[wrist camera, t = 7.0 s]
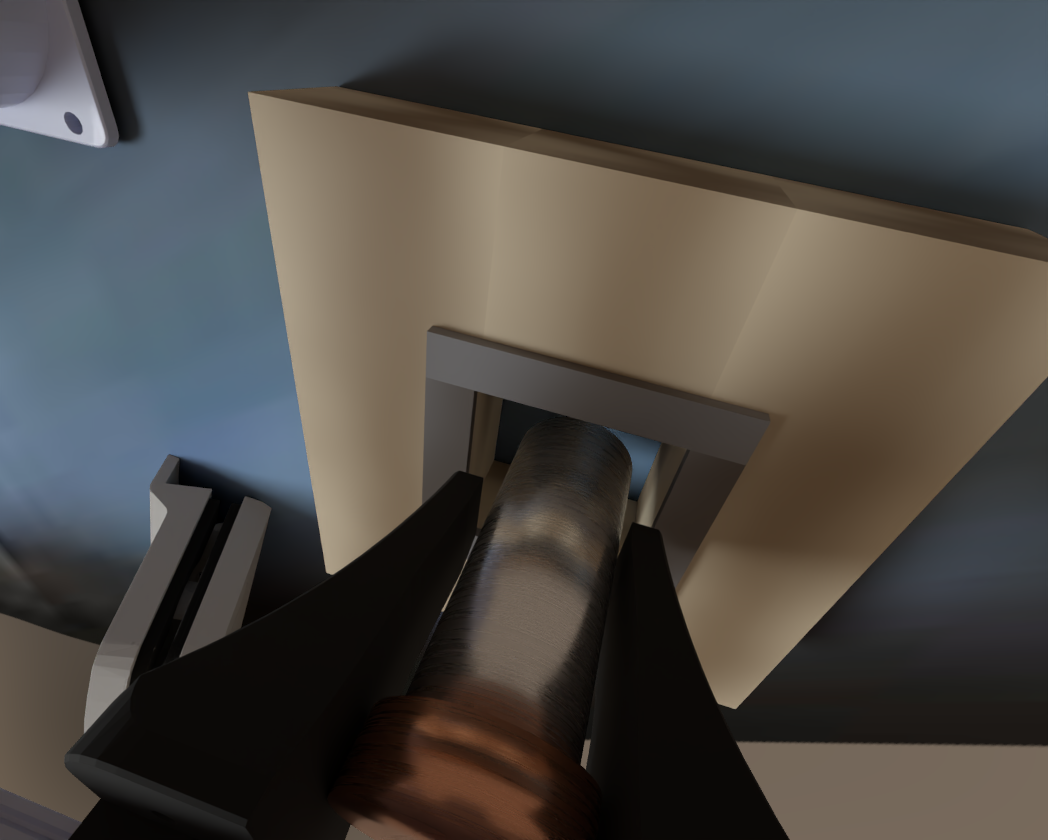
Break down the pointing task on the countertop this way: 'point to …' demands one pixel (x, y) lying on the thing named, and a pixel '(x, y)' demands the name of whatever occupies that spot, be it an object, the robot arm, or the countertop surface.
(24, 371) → the countertop surface
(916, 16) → the countertop surface
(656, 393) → the block
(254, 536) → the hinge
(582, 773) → the pin
